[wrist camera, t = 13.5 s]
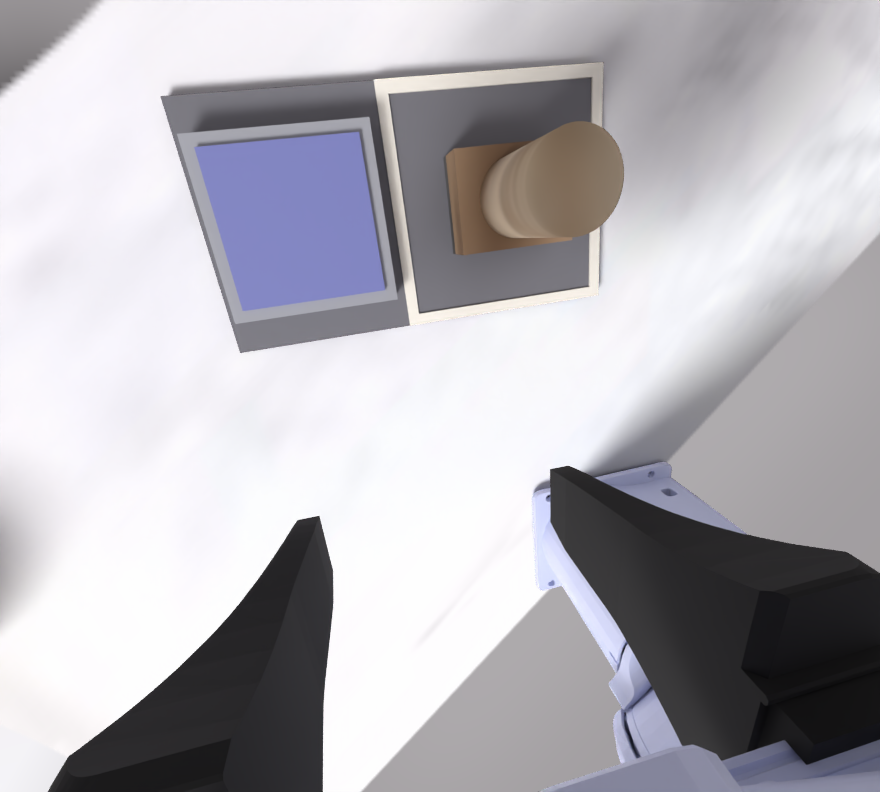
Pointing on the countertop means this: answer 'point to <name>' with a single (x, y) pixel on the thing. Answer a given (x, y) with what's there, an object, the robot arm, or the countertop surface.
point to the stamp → (532, 189)
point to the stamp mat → (369, 199)
